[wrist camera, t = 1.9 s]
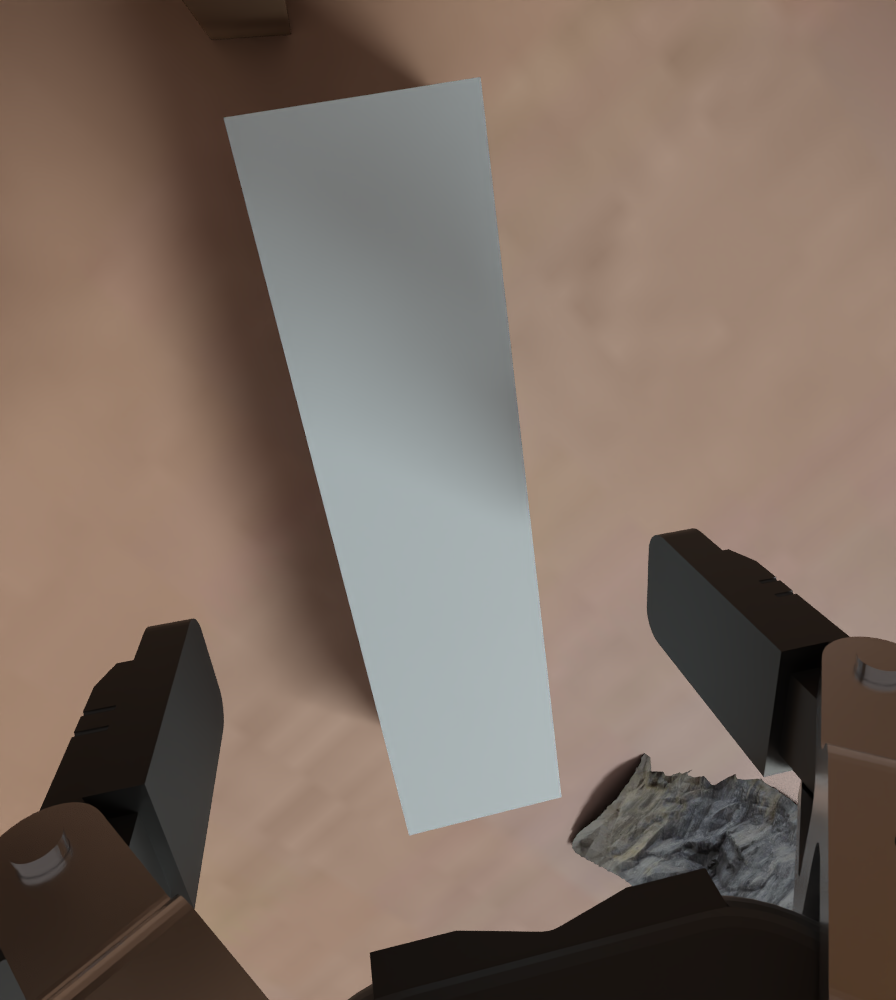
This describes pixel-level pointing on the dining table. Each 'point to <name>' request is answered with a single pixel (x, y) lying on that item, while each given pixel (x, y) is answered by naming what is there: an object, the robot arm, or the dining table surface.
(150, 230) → the dining table surface
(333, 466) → the white rectangular bar
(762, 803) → the grey flat forked piece
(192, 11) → the end cap
